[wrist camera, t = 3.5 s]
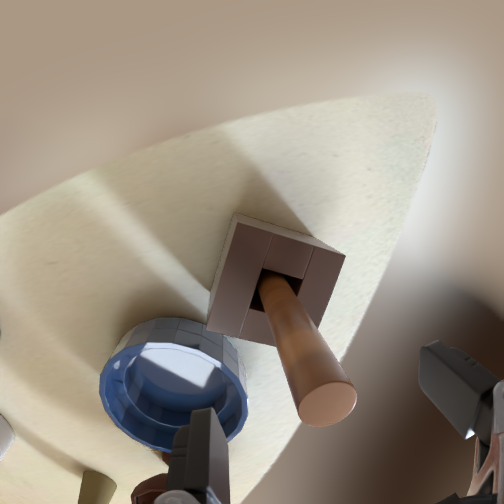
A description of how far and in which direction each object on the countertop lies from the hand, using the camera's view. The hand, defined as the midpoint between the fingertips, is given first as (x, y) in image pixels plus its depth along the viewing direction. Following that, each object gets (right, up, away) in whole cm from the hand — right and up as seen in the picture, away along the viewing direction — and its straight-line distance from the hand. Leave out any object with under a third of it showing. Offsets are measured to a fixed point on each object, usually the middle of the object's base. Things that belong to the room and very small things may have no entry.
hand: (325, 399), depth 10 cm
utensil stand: (-2, +4, +19) cm, 20 cm away
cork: (-28, -32, +25) cm, 49 cm away
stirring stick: (-2, +4, +19) cm, 20 cm away
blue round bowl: (-11, -8, +21) cm, 25 cm away
